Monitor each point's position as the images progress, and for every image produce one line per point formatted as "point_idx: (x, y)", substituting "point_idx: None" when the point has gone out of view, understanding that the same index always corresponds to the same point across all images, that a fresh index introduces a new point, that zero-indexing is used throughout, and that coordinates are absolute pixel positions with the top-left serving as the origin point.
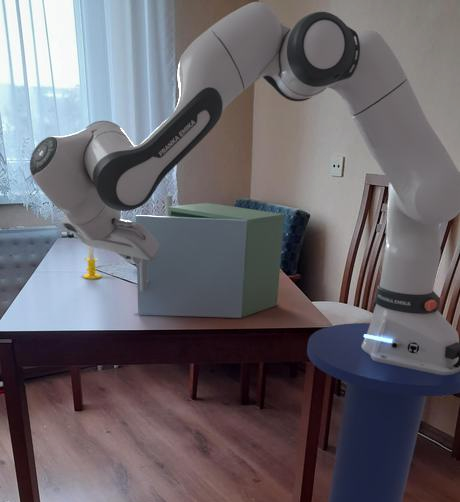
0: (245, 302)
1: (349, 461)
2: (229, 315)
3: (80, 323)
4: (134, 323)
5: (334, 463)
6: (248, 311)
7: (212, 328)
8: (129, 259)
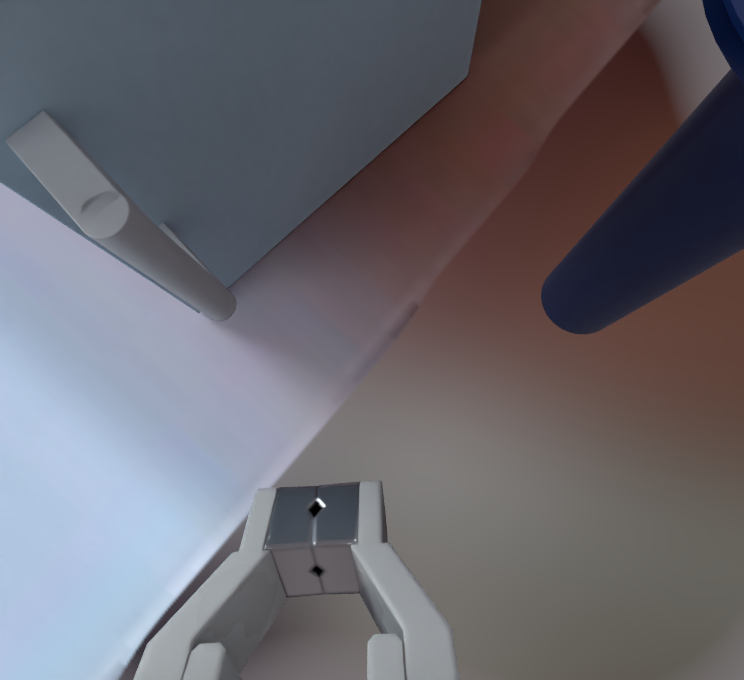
0: None
1: (730, 236)
2: (440, 95)
3: (118, 545)
4: (260, 385)
5: (657, 228)
6: None
7: (482, 214)
8: (331, 592)
